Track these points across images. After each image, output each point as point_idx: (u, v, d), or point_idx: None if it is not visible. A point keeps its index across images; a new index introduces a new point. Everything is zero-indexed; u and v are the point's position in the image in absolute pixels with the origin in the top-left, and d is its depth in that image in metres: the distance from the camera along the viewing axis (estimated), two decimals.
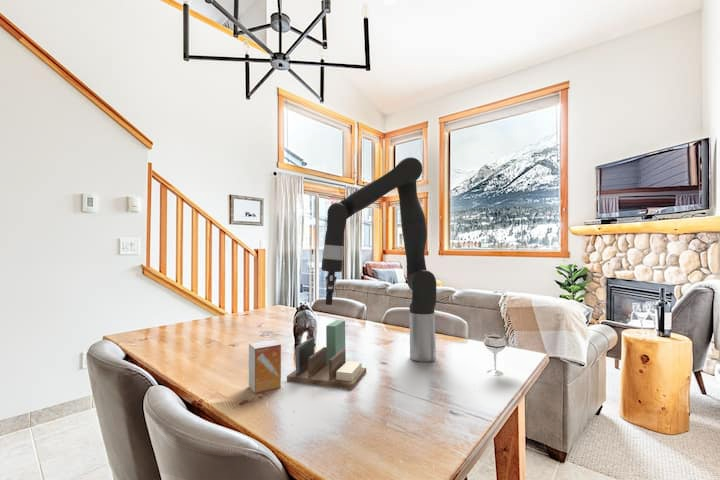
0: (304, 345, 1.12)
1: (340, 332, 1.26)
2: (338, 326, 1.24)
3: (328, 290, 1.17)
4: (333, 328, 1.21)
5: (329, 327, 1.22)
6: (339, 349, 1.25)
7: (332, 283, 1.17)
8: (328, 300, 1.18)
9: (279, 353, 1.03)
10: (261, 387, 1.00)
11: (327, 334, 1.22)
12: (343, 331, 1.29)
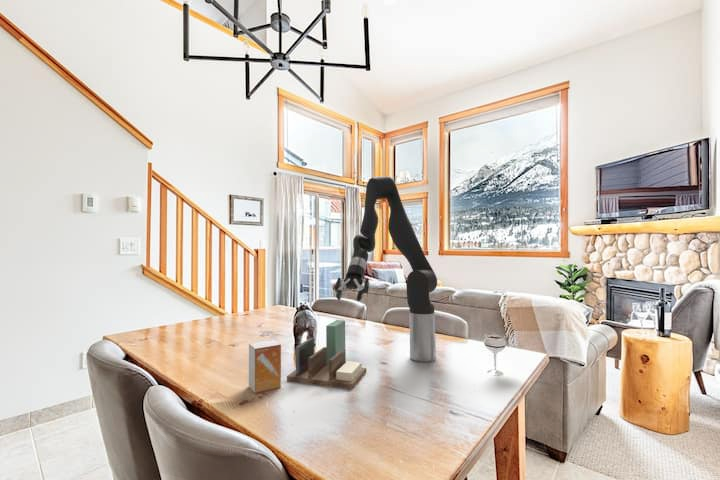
0: (304, 345, 1.12)
1: (340, 332, 1.26)
2: (338, 326, 1.24)
3: None
4: (333, 328, 1.21)
5: (329, 327, 1.22)
6: (339, 349, 1.25)
7: None
8: None
9: (279, 353, 1.03)
10: (261, 387, 1.00)
11: (327, 334, 1.22)
12: (343, 331, 1.29)
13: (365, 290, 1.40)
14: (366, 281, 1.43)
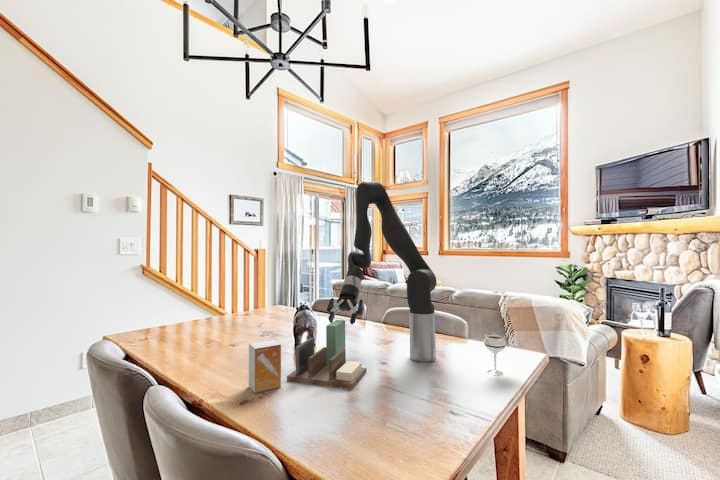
0: (304, 345, 1.12)
1: (340, 332, 1.26)
2: (338, 326, 1.24)
3: None
4: (333, 328, 1.21)
5: (329, 327, 1.22)
6: (339, 349, 1.25)
7: None
8: None
9: (279, 353, 1.03)
10: (261, 387, 1.00)
11: (327, 334, 1.22)
12: (343, 331, 1.29)
13: (359, 312, 1.32)
14: (360, 302, 1.35)
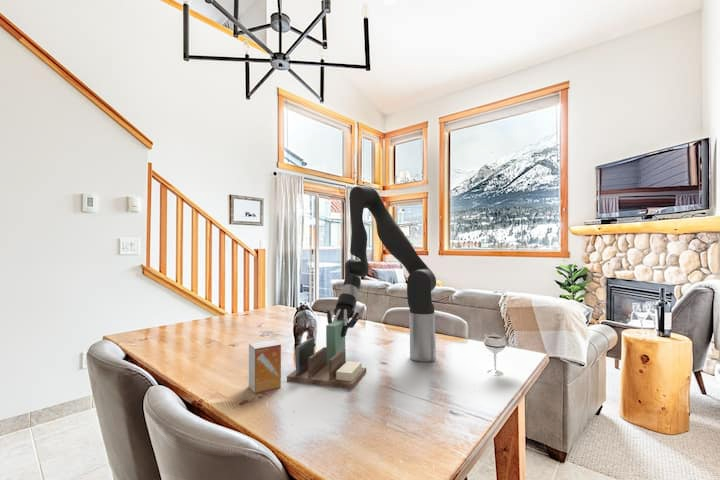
0: (304, 345, 1.12)
1: (340, 332, 1.26)
2: (338, 326, 1.24)
3: None
4: (333, 328, 1.21)
5: (329, 327, 1.22)
6: (339, 349, 1.25)
7: None
8: None
9: (279, 353, 1.03)
10: (261, 387, 1.00)
11: (327, 334, 1.22)
12: None
13: (350, 325, 1.29)
14: (355, 315, 1.31)
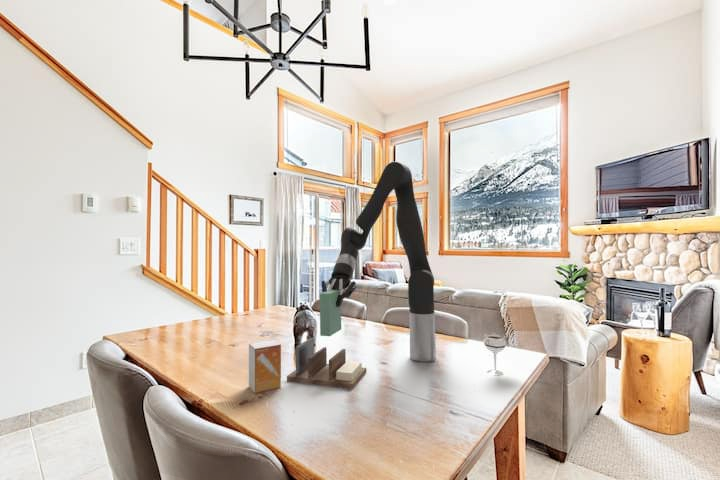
0: (304, 345, 1.12)
1: (334, 302, 1.17)
2: (332, 294, 1.16)
3: None
4: (327, 295, 1.13)
5: (323, 295, 1.14)
6: (334, 319, 1.17)
7: None
8: None
9: (279, 353, 1.03)
10: (261, 387, 1.00)
11: (321, 302, 1.14)
12: None
13: (346, 294, 1.20)
14: (351, 284, 1.22)
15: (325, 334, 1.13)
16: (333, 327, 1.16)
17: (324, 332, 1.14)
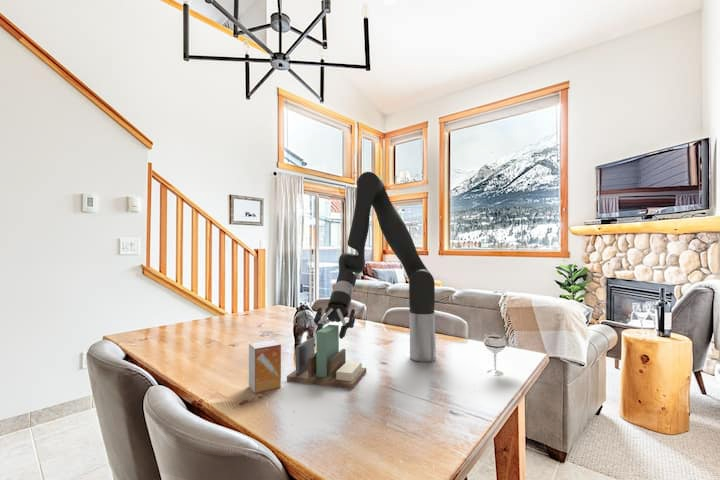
0: (304, 345, 1.12)
1: (332, 339, 1.11)
2: (330, 332, 1.09)
3: None
4: (324, 334, 1.07)
5: (319, 333, 1.07)
6: None
7: None
8: None
9: (279, 353, 1.03)
10: (261, 387, 1.00)
11: (317, 341, 1.07)
12: (336, 337, 1.14)
13: (350, 325, 1.14)
14: (352, 313, 1.16)
15: (322, 375, 1.07)
16: None
17: (320, 372, 1.07)
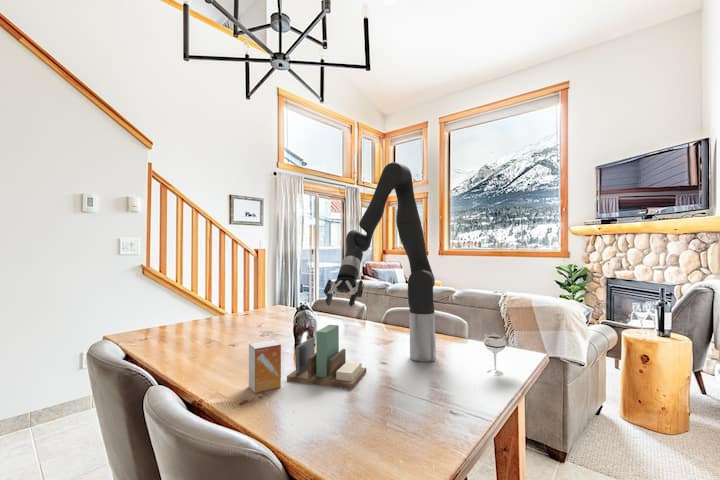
0: (304, 345, 1.12)
1: (332, 339, 1.11)
2: (330, 332, 1.09)
3: None
4: (324, 334, 1.07)
5: (319, 333, 1.07)
6: None
7: None
8: None
9: (279, 353, 1.03)
10: (261, 387, 1.00)
11: (317, 341, 1.07)
12: (336, 337, 1.14)
13: (359, 294, 1.22)
14: (360, 283, 1.25)
15: (322, 375, 1.07)
16: None
17: (320, 372, 1.07)
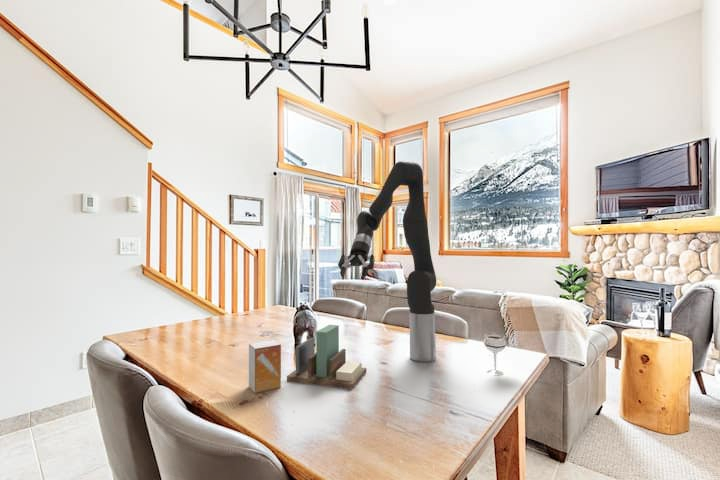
0: (304, 345, 1.12)
1: (332, 339, 1.11)
2: (330, 332, 1.09)
3: None
4: (324, 334, 1.07)
5: (319, 333, 1.07)
6: None
7: None
8: None
9: (279, 353, 1.03)
10: (261, 387, 1.00)
11: (317, 341, 1.07)
12: (336, 337, 1.14)
13: (370, 266, 1.34)
14: (371, 257, 1.36)
15: (322, 375, 1.07)
16: None
17: (320, 372, 1.07)
